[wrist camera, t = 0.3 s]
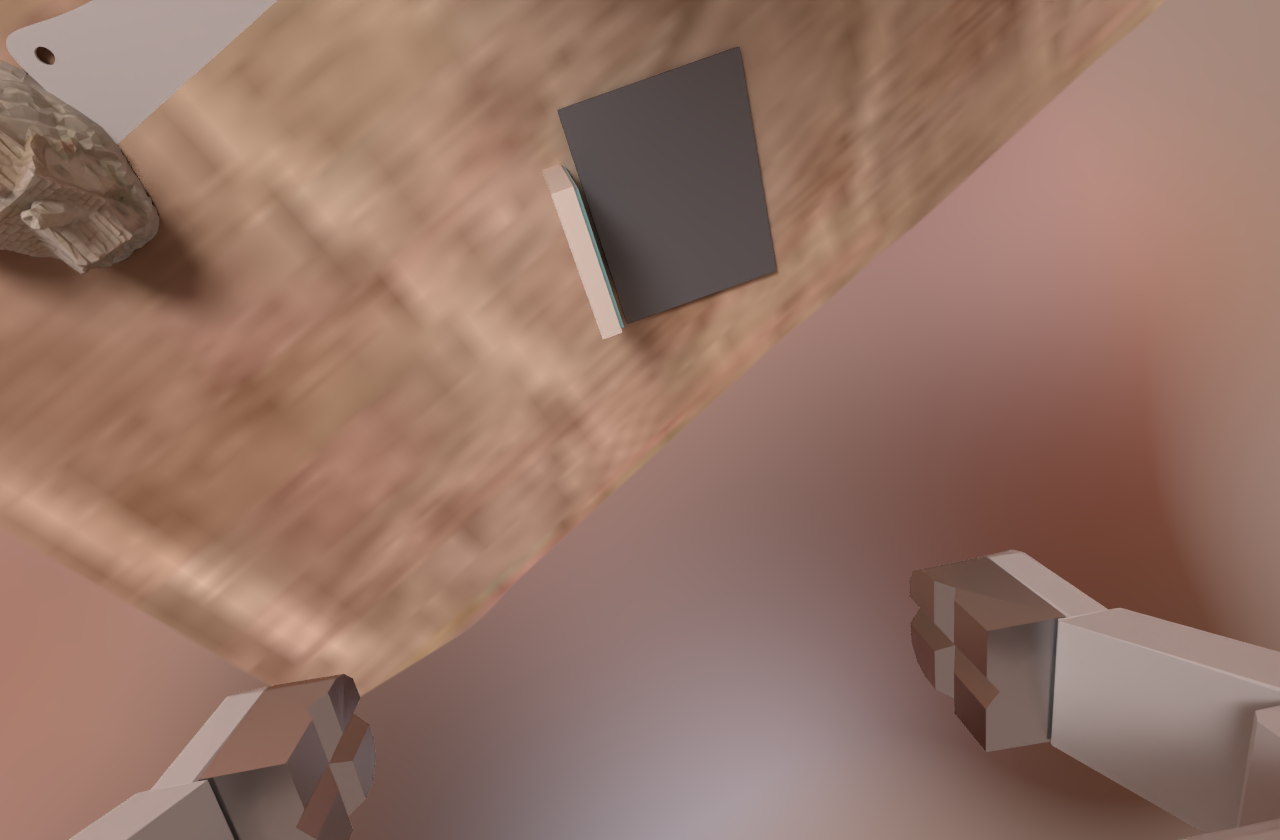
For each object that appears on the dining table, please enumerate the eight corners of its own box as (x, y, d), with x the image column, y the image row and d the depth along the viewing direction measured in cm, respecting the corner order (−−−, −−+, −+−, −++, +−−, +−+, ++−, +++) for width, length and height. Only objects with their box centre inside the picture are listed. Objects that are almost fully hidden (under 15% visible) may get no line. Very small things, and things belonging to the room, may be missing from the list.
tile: (586, 295, 59) (602, 339, 49) (541, 170, 52) (550, 194, 43) (605, 288, 59) (625, 331, 49) (563, 162, 52) (577, 185, 43)
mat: (626, 321, 61) (627, 323, 60) (557, 110, 50) (557, 110, 49) (774, 268, 61) (776, 270, 60) (737, 46, 50) (739, 46, 50)
